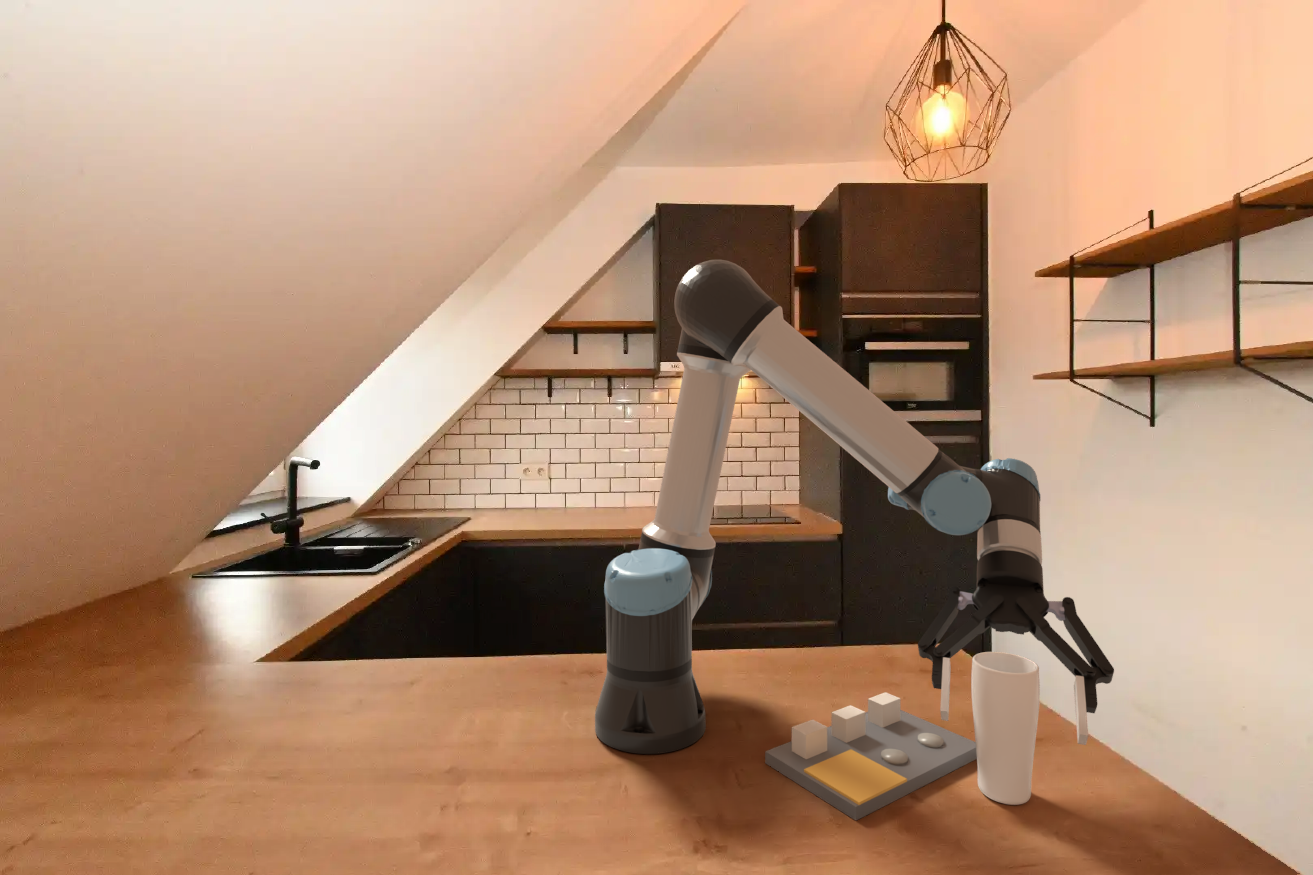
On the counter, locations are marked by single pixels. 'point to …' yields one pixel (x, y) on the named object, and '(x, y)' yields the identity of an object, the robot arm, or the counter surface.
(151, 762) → the counter surface
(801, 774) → the game board
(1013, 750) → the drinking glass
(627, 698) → the robot arm
